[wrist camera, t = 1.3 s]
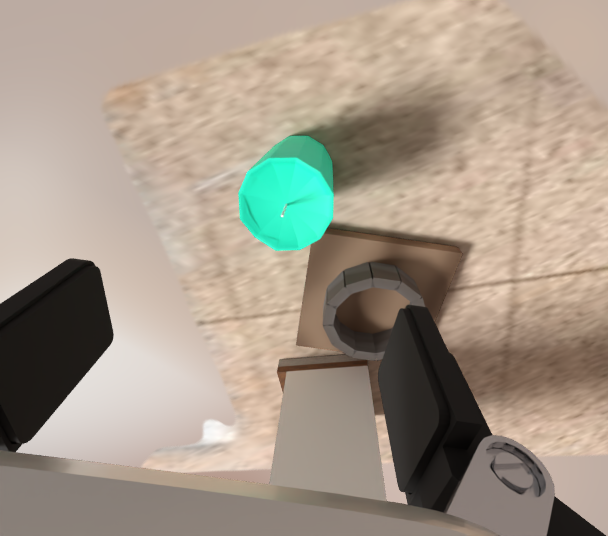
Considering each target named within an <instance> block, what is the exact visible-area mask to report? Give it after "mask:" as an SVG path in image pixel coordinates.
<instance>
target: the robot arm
mask: <svg viewBox="0 0 608 536" xmlns="http://www.w3.org/2000/svg"><path fill="white" fill-rule="evenodd" d="M112 340H113V329H112V324H111V319H110V315H109V310H108V305H107V300H106V296H105V291H104V286H103V282H102V277H101V273H100V269H99V268H98V267H96V266H95V264H94V263H93V262H92V261H88V260H80V259H68V260H66V261H64V262H63V263H61V264H60V265H58V266H57V267H55V268H54V269H52V270H51V271H49V272H48V273H46V274H45V275H43V276H42V277H40V278H39V279H37V280H36V281H34V282H33V283H31V284H30V285H28V286H27V287H25V288H24V289H22V290H21V291H19V292H18V293H16V294H15V295H13V296H11V297H10V298H9V299H7V300H5V301H4V302H2V303H1V304H0V536H606V535H604V534H603V533H602V532H601V531H599V530H598V529H597V528H595V527H594V526H593V525H591V524H590V523H589V522H587V521H586V520H585V519H584V518H582V517H581V516H580V515H578V514H577V513H576V512H574V511H573V510H572V509H571V508H569V507H568V506H567V505H565V504H564V503H563V502H561V501H560V500H559V499H558V498H556V497H555V496H554V495H555V493H554V484H553V481H552V479H551V476H550V474H549V472H548V471H547V469H546V468H545V466H544V465H543V464H542V462H541V461H540V460H539V459H538V458H537V457H536V456H535V455H534V454H533V453H532V452H531V451H529V450H528V449H527V448H526V447H524V446H523V445H521V444H519V443H518V442H516V441H514V440H512V439H509V438H506V437H503V436H496V435H492V433H491V431H490V429H489V427H488V425H487V423H486V421H485V419H484V417H483V415H482V413H481V411H480V409H479V407H478V405H477V403H476V400H475V398H474V396H473V394H472V392H471V390H470V388H469V386H468V384H467V382H466V380H465V378H464V376H463V374H462V372H461V370H460V368H459V366H458V364H457V362H456V360H455V358H454V356H453V355H452V354H451V353H449V352H448V349H447V347H446V345H445V343H444V341H443V339H442V337H441V335H440V333H439V331H438V328H437V326H436V324H435V322H434V320H433V318H432V316H431V314H430V312H429V310H428V308H427V307H423V306H416V305H409V304H408V305H407V306H406V307H405V309H404V308H401V309H400V310H399V312H398V314H397V317H396V320H395V323H394V326H393V329H392V332H391V335H390V338H389V341H388V344H387V347H386V350H385V353H384V356H383V359H382V362H381V365H380V368H379V372H378V382H379V387H380V393H381V398H382V403H383V409H384V414H385V419H386V424H387V430H388V435H389V440H390V446H391V451H392V456H393V462H394V467H395V472H396V478H397V483H398V487H399V490H400V491H401V492H405V494H406V499H407V503H408V505H406V504H402V503H395V502H388V501H382V500H375V499H369V498H362V497H356V496H349V495H343V494H336V493H329V492H321V491H314V490H306V489H299V488H291V487H284V486H276V485H268V484H261V483H254V482H246V481H238V480H231V479H223V478H216V477H208V476H200V475H192V474H185V473H177V472H169V471H161V470H153V469H146V468H137V467H129V466H122V465H114V464H106V463H98V462H90V461H82V460H74V459H65V458H57V457H49V456H41V455H32V454H25V453H24V454H23V453H16V451H17V450H18V448H19V447H20V446H21V445H22V444H24V443H27V442H28V441H30V440H31V439H32V438H33V437H34V436H35V434H36V433H37V432H38V431H39V430H40V428H41V427H42V426H43V425H44V424H45V422H46V421H47V420H48V419H49V418H50V416H51V415H52V414H53V413H54V412H55V410H56V409H57V408H58V407H59V406H60V404H61V403H62V402H63V401H64V400H65V399H66V397H67V396H68V395H69V394H70V393H71V391H72V390H73V389H74V388H75V387H76V385H77V384H78V383H79V381H80V380H81V379H82V378H83V377H84V376H85V375H86V373H87V372H88V371H89V370H90V368H91V367H92V366H93V365H94V364H95V363H96V361H97V360H98V359H99V358H100V357H101V355H102V354H103V353H104V352H105V351H106V349H107V348H108V347H109V346H110V344H111V343H112Z"/></svg>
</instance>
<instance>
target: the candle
mask: <svg viewBox="0 0 608 536" xmlns="http://www.w3.org/2000/svg"><path fill="white" fill-rule="evenodd" d="M238 194H239V210H240V220H241V221H242V222H243V223H244V225H245V226H246V227H247V228H248V229H249V231H250V232H251V233H252V234H253V235H254V237H255V238H257V239H258V240H260V241H261V242H263V243H265V244H266V245H268V246H269V247H271V248H272V249H274V250H276V251H279V250H301V249H303V248H304V247H306V246H308V245H310V244H312V243H314V242H316V241H318V240H320V239H321V237H322V235H323V234H324V232H325V231H326V229H327V227H328V226H329V224H330V222H331V221H332V219H333V197H334V193H333V165H332V160H331V158H330V156H329V154H328V152H327V150H326V149H325V147H324V145H323V144H321V143H319V142H318V141H316V140H314V139H313V138H311V137H309V136H289V137H287V138H286V139H284V140H282V141H281V142H279V143H278V144H276V145H275V146H274V147H273V148H272V149H271V150H270V151H268V152H267V153H266V154H265V155H264V156H263V157H262V158H261V159H260V160H259V161H258V162H257V163H256V164H255V165H254V166H253V167H252V168H251V169H250V170H249V171H248V172H247V174H246V176H245V179H244V181H243V183H242V186H241V188H240V191H239V193H238Z"/></svg>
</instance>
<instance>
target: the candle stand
mask: <svg viewBox="0 0 608 536" xmlns="http://www.w3.org/2000/svg"><path fill="white" fill-rule="evenodd" d="M462 255H463V253H462V252H461V251H460V249H459V248H458V247H455V246H448V245H442V244H435V243H428V242H421V241H414V240H407V239H400V238H393V237H386V236H379V235H372V234H365V233H359V232H352V231H345V230H338V229H331V228H327V229H326V231H325V232H324V234H323V235H322V237H321V239H320V240H318V241H316V242H314V243H312V244H311V249H310V255H309V262H308V269H307V275H306V282H305V289H304V295H303V302H302V308H301V315H300V322H299V328H298V335H297V342H296V345H298V346H304V347H311V348H318V349H325V350H332V351H339V352H344V353H345V354H347V355H348V356H350V357H351V356H352V358H359V359H366V360H372V361H375V360H377V361H378V360H382V359H383V356H384V353H385V350H386V347H387V344H388V341H389V338H390V335H391V332H392V329H393V326H394V323H395V320H396V317H397V314H398V312H399V310H400V309H401V308H404V309H405V307H406V306H407V305H408V304H409V305H416V306H423V307H427V308H428V310H429V312H430V314H431V316H432V318H433V320H434V322H435V320H436V318H437V315H438V313H439V311H440V308H441V306H442V303H443V301H444V298H445V296H446V294H447V291H448V289H449V286H450V284H451V281H452V279H453V277H454V274H455V272H456V269H457V267H458V264H459V262H460V259H461V257H462Z"/></svg>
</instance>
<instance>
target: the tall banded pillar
mask: <svg viewBox="0 0 608 536" xmlns="http://www.w3.org/2000/svg"><path fill="white" fill-rule="evenodd" d="M277 374H278V377H279V381H280V384H281V388H282V391H283V398H282V405H281V411H280V418H279V424H278V431H277V437H276V444H275V450H274V457H273V463H272V470H271V476H270V482H269V485H276V486H284V487H291V488H299V489H306V490H314V491H321V492H329V493H336V494H343V495H349V496H356V497H362V498H369V499H375V500H382V501H387V500H386V493H385V485H384V478H383V471H382V464H381V457H380V450H379V442H378V435H377V428H376V421H375V414H374V407H373V399H372V392H371V385H370V378H369V371H368V364H367V360H366V359H359V358H352V356H351V357H350V356H348V355H347V354H345V355H332V356H319V357H307V358H294V359H282V360H279V365H278V370H277Z"/></svg>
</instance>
